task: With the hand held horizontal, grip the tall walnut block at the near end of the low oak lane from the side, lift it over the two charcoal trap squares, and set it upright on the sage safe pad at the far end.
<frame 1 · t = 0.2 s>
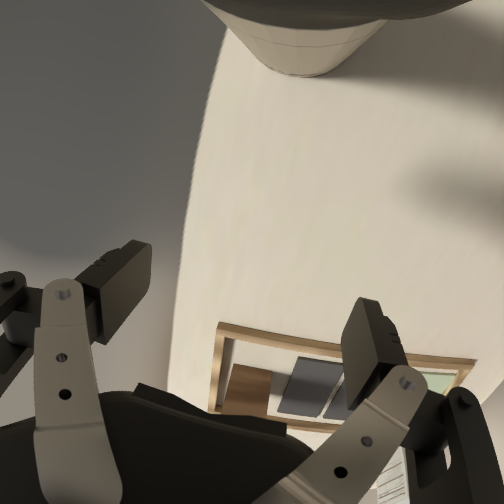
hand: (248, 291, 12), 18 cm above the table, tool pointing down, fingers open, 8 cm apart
supplement box: (399, 448, 45), on the table
walnut block: (250, 379, 39), resting in oak lane
oak lane: (339, 393, 39), on the table
trap squares: (339, 393, 39), resting in oak lane
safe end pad: (413, 399, 38), resting in oak lane
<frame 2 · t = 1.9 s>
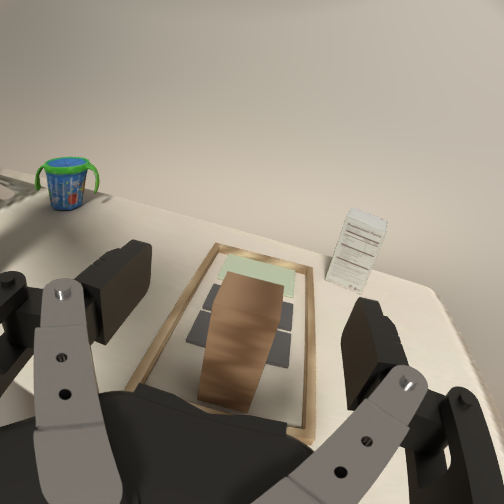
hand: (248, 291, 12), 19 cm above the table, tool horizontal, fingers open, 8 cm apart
snack cup: (66, 206, 61), on the table
supplement box: (345, 280, 57), on the table
walnut block: (227, 388, 30), resting in oak lane
oak lane: (246, 318, 41), on the table
trap squares: (246, 318, 41), resting in oak lane
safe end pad: (258, 275, 52), resting in oak lane
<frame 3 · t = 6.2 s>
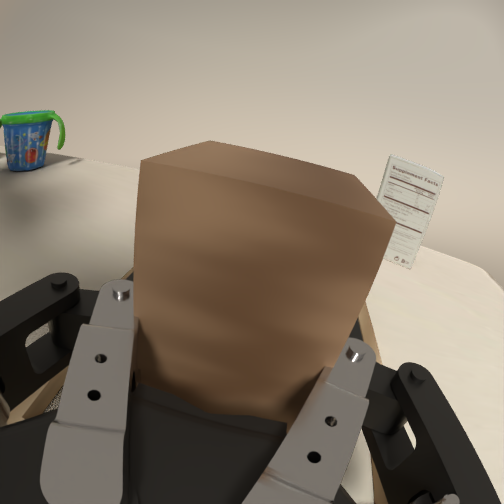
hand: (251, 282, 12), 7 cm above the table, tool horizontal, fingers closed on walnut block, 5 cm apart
snack cup: (25, 168, 44), on the table
supplement box: (386, 252, 40), on the table
walnut block: (214, 432, 13), resting in oak lane, touching gripper
oak lane: (253, 296, 24), on the table
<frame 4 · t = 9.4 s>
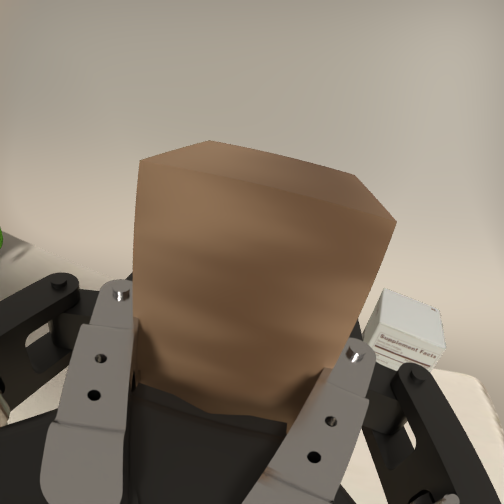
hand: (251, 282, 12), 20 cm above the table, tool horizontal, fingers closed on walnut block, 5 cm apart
supplement box: (362, 399, 32), on the table
walnut block: (214, 433, 13), point 13 cm above the table, touching gripper
when the fingers open (8 cm above the table, at t = 13.0 s): walnut block stays where it is, resting on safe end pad.
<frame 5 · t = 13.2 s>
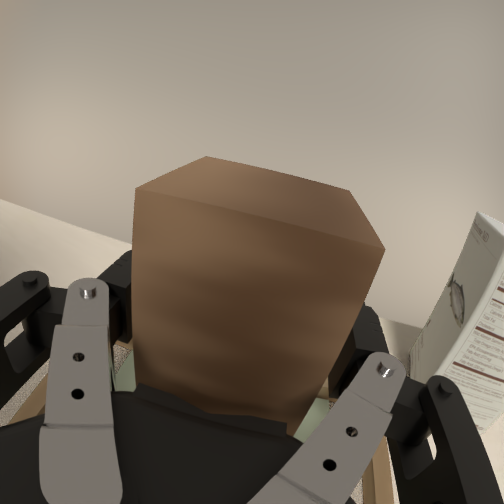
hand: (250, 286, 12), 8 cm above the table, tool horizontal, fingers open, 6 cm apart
supplement box: (443, 395, 19), on the table
walnut block: (212, 438, 13), resting on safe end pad
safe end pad: (211, 441, 13), resting in oak lane
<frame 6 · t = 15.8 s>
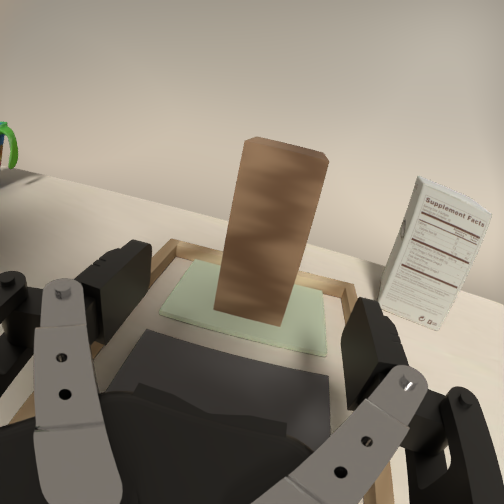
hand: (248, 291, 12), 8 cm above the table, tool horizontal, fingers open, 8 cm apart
supplement box: (406, 305, 30), on the table
walnut block: (251, 300, 25), resting on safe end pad
oak lane: (215, 429, 14), on the table
trap squares: (215, 429, 14), resting in oak lane
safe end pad: (250, 304, 25), resting in oak lane
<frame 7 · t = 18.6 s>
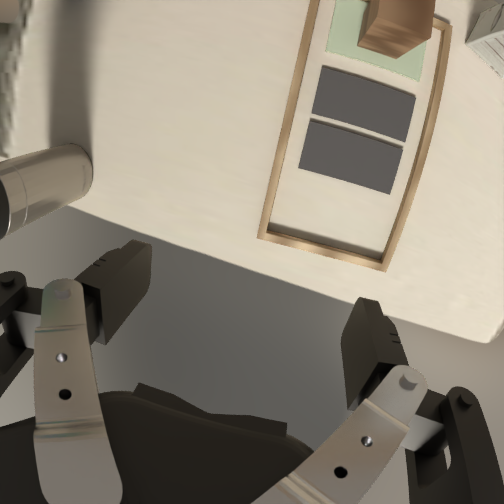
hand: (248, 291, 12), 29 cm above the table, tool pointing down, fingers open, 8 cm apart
supplement box: (490, 45, 25), on the table
walnut block: (380, 35, 28), resting on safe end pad
oak lane: (360, 123, 34), on the table
trap squares: (360, 123, 34), resting in oak lane
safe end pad: (379, 36, 29), resting in oak lane
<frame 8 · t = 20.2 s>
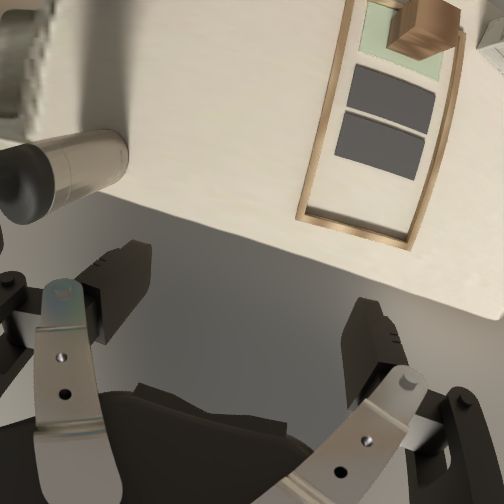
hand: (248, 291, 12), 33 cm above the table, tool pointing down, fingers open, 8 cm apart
supplement box: (497, 50, 28), on the table
walnut block: (405, 39, 31), resting on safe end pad
oak lane: (388, 116, 37), on the table
trap squares: (388, 116, 37), resting in oak lane
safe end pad: (404, 40, 31), resting in oak lane
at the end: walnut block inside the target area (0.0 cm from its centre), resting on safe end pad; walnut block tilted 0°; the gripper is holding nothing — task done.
